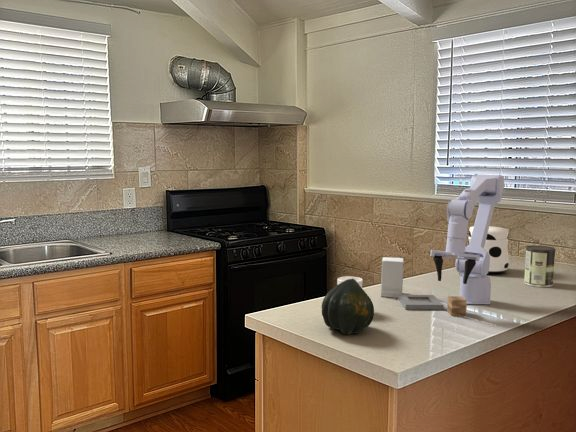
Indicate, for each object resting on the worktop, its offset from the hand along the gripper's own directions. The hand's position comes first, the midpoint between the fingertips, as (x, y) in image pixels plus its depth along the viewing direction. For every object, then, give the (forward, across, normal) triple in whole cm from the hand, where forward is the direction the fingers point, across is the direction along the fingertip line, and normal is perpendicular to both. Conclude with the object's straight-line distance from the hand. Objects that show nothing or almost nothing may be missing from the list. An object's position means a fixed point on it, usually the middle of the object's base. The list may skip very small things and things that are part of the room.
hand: (451, 282), depth 177 cm
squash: (+15, -31, -20) cm, 39 cm away
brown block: (+10, +2, +1) cm, 10 cm away
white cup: (+13, -30, 0) cm, 33 cm away
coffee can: (+1, +39, +46) cm, 60 cm away
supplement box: (+9, -16, +21) cm, 28 cm away
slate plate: (+9, -8, +10) cm, 16 cm away
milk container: (0, +24, +65) cm, 69 cm away
